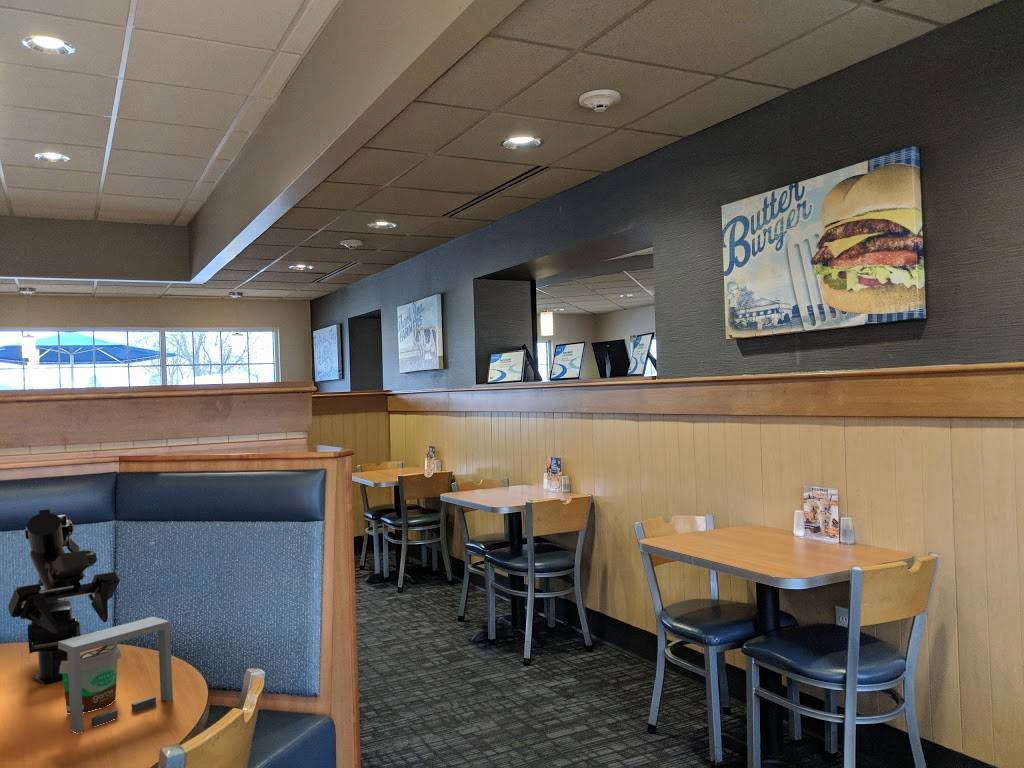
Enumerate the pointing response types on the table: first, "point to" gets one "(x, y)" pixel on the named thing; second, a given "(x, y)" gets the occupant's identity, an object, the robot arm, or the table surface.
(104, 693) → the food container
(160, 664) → the overhang shelf
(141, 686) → the table surface
